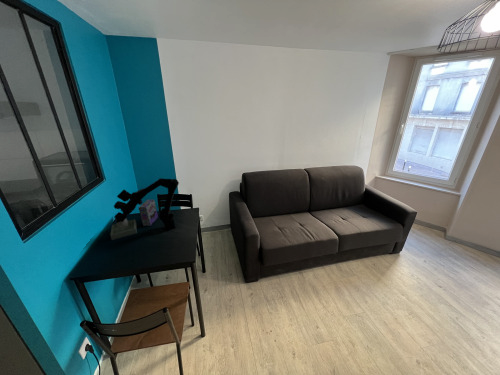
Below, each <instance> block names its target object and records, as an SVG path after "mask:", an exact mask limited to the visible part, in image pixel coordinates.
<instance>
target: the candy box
mask: <svg viewBox="0 0 500 375" xmlns="http://www.w3.org/2000/svg"><path fill="white" fill-rule="evenodd" d="M138 211H139V215H140V219H141V222H142V226H144V227H151V226H152V225H153V224H154V222H156V220H157V219H158V218H159V214H158V209H157V206H156V202H155V199H146V200H145V202H142V204H141V205H139V206H138Z"/></svg>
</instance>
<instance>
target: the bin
mask: <svg viewBox="0 0 500 375" xmlns="http://www.w3.org/2000/svg"><path fill="white" fill-rule="evenodd" d="M127 221H128V225H129V227H128V228H126V229H124V230H119V228H118V225H117V223H115V224H112V225H111V231H110V238H111V241H115V240H118V239H121V238H124V237H129V236H132V235H136V234H138V232H137V221H136V219H131V220H127Z"/></svg>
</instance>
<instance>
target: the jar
mask: <svg viewBox="0 0 500 375" xmlns="http://www.w3.org/2000/svg"><path fill="white" fill-rule="evenodd" d="M116 221H117V219H116V218H115V222H116ZM128 221H129V220H128V219H127V218H126V219H125V220H124V221H123V222H118V223H117V222H116V224H117V225H118V228H119V230H124V229H126V228H128V227H129V225H128Z"/></svg>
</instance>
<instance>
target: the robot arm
mask: <svg viewBox="0 0 500 375" xmlns="http://www.w3.org/2000/svg"><path fill="white" fill-rule="evenodd" d="M178 185H179V181H178V180H177V179H176V178H163V177H161V178H158V179H157V180H156V181H154V182H152V183H151V184H150V185H148V186H146V187H145V188H144V187H143V188H141V189H138V190H137V191H134V192H131V193H130V192H129V191H127V190H125V189H123V190H122V191H120V192H119V193H118V194H117V196H116V198H117V199H120V200H118V201H116V202H115V203H114V205H113V207H114V209H116V210H120V211H121V212H117V213H116V214H115V215H114V217H113V218H114V219H115V222H116V224H117V223H118V222H123V221H124V220H125V219H126V218H127V216H128V215H130V214H132V213H133V212H134V210H135V209H136V208H137V205H139V206H141V205H142V204H143V201H142V199H144V198H145V197H146V196H147V195H148V194H149V193H150V192H151V193H152V191H154V190H155V189H157V188H159V187H163V188H166V189H167V194H166V199H165V203H164V206H163V207H162V208H161V210H160V211H159V214H158V218H159V220H160V221H162V223H163V225H164V226H163V227H164V229H165V231H166V232H168V231H171V230H174V229H175V230H176V226H175V220H174V216H175V215H174V214H173V213H171V206H172V203H173V200H174V195H175V191H176V190H177V188H178ZM116 219H117V221H116Z"/></svg>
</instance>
